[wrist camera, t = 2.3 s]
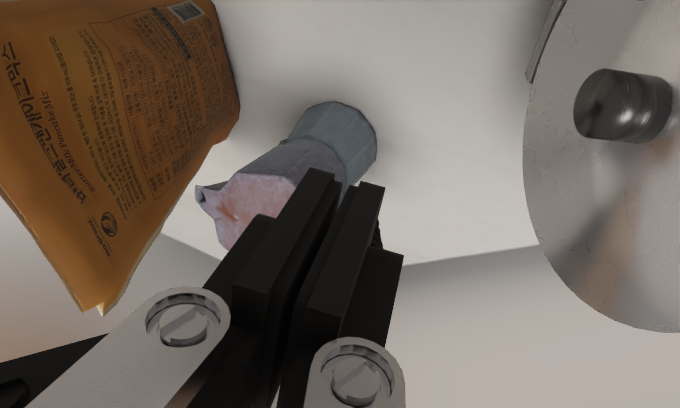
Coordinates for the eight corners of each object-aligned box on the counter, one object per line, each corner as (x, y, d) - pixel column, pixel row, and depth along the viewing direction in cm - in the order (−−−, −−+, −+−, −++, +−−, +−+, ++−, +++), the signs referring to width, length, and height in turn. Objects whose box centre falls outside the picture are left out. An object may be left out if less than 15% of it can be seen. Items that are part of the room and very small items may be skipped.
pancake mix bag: (218, -49, 43) (-82, -1, 20) (266, 147, 52) (99, 336, 29) (154, -38, 45) (-190, 18, 22) (211, 149, 54) (12, 330, 31)
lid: (506, 180, 35) (460, 176, 34) (643, -142, 24) (580, -157, 24) (756, 520, 17) (668, 524, 16) (1718, -170, 6) (1577, -240, 6)
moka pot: (277, 74, 48) (171, 162, 31) (425, 123, 47) (397, 241, 30) (262, 157, 53) (165, 269, 36) (396, 202, 52) (358, 339, 35)
